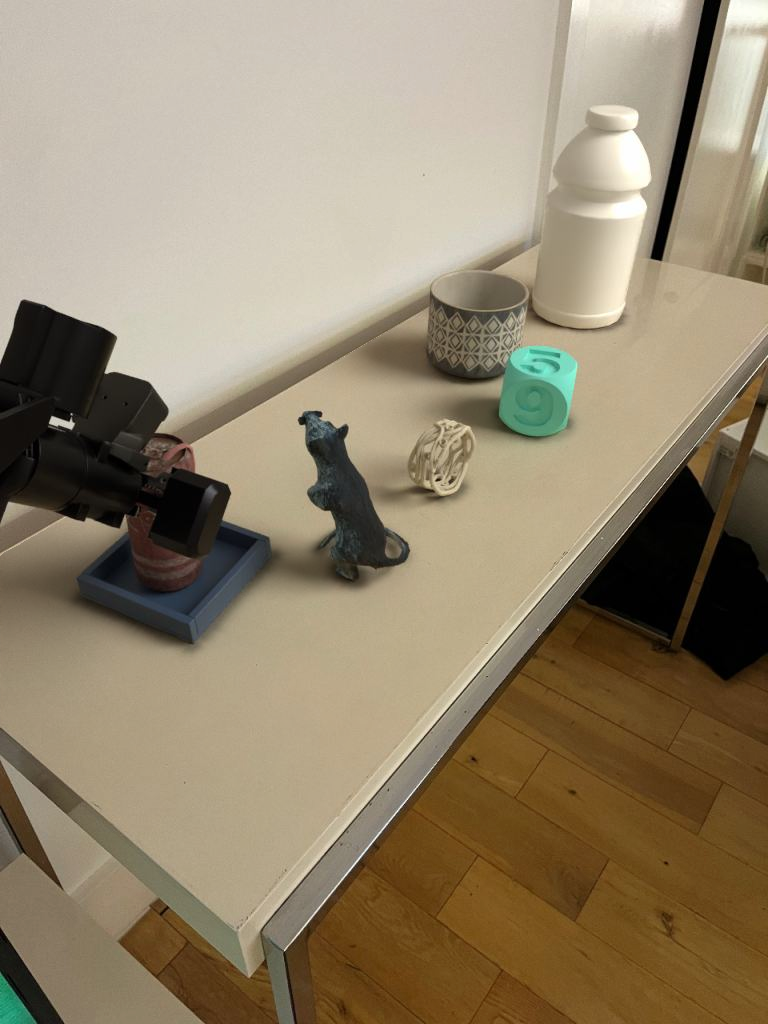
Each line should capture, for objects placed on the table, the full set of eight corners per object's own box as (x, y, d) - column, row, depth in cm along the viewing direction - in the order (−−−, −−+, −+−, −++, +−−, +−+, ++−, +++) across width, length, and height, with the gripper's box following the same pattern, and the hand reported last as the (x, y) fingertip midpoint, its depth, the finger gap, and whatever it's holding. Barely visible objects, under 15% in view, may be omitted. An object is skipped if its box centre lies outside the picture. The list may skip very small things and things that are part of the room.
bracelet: (476, 476, 87) (483, 415, 81) (434, 511, 82) (439, 449, 77) (447, 462, 88) (452, 402, 83) (404, 496, 84) (407, 434, 79)
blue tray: (193, 644, 67) (189, 624, 66) (81, 596, 72) (75, 577, 70) (271, 555, 76) (269, 536, 75) (168, 517, 80) (164, 499, 79)
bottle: (523, 322, 116) (552, 117, 98) (536, 285, 126) (565, 93, 108) (619, 336, 113) (667, 127, 95) (625, 297, 123) (670, 102, 105)
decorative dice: (568, 407, 98) (580, 350, 93) (563, 441, 92) (574, 382, 87) (505, 397, 99) (513, 340, 94) (496, 431, 93) (503, 372, 88)
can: (216, 579, 73) (205, 456, 64) (151, 603, 70) (130, 479, 61) (190, 542, 77) (176, 421, 68) (127, 564, 74) (104, 441, 65)
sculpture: (343, 511, 82) (340, 386, 72) (425, 556, 76) (433, 429, 67) (287, 552, 77) (275, 425, 67) (370, 604, 71) (370, 474, 62)
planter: (506, 393, 100) (516, 318, 94) (413, 374, 104) (417, 300, 97) (527, 349, 109) (538, 278, 103) (441, 333, 113) (446, 263, 106)
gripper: (199, 395, 52) (294, 446, 67) (-4, 334, 58) (123, 394, 73) (143, 552, 52) (251, 569, 67) (-56, 474, 58) (83, 505, 73)
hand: (175, 503), depth 70 cm, fingers closed on can, 5 cm apart
